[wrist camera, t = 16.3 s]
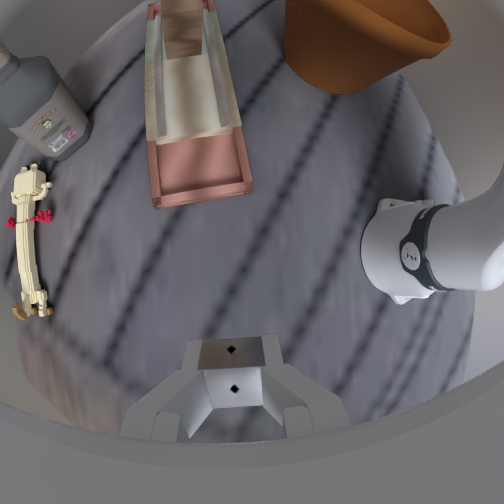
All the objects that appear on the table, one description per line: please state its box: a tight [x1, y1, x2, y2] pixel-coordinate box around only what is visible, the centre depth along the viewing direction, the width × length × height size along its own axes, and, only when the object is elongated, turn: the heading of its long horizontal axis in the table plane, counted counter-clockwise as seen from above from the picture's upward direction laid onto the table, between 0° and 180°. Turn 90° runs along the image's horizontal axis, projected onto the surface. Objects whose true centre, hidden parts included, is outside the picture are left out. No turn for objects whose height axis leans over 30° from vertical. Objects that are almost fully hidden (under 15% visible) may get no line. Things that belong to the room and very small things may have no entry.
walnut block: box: [161, 0, 203, 60], centre depth 30 cm, size 6×12×11 cm, turn 11°
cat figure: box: [6, 162, 53, 320], centre depth 30 cm, size 10×9×25 cm
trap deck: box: [145, 0, 254, 210], centre depth 37 cm, size 14×48×4 cm, turn 11°
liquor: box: [0, 39, 92, 161], centre depth 20 cm, size 9×9×30 cm
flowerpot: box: [283, 0, 452, 95], centre depth 32 cm, size 28×28×24 cm
